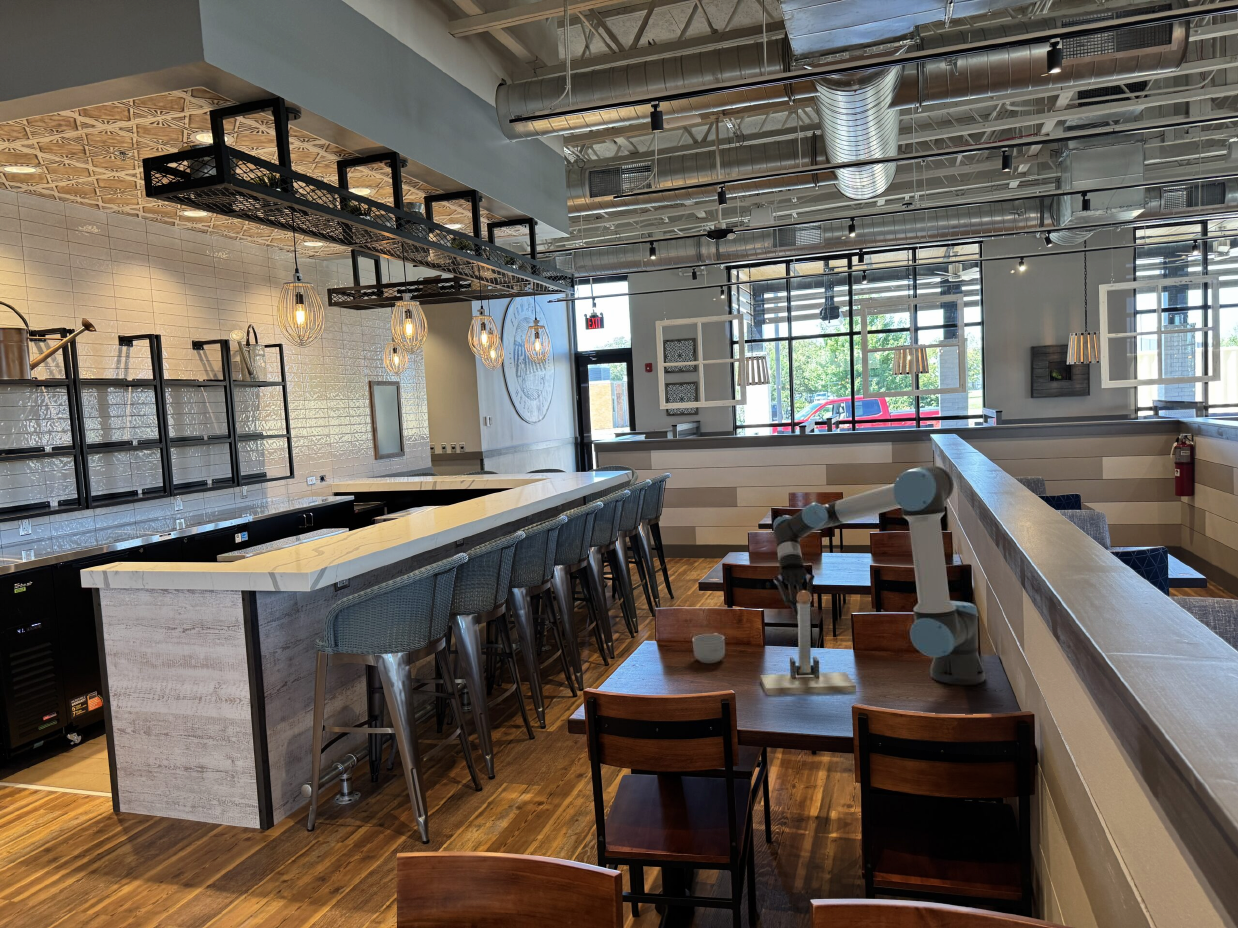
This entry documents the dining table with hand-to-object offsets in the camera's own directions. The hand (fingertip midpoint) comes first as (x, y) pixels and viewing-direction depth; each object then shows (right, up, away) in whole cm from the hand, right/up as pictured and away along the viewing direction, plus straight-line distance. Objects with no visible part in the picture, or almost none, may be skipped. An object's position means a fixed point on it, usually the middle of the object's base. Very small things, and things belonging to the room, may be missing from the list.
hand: (802, 623), depth 245 cm
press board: (+1, -18, -3) cm, 18 cm away
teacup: (-24, -18, +28) cm, 41 cm away
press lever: (+1, -15, 0) cm, 15 cm away
